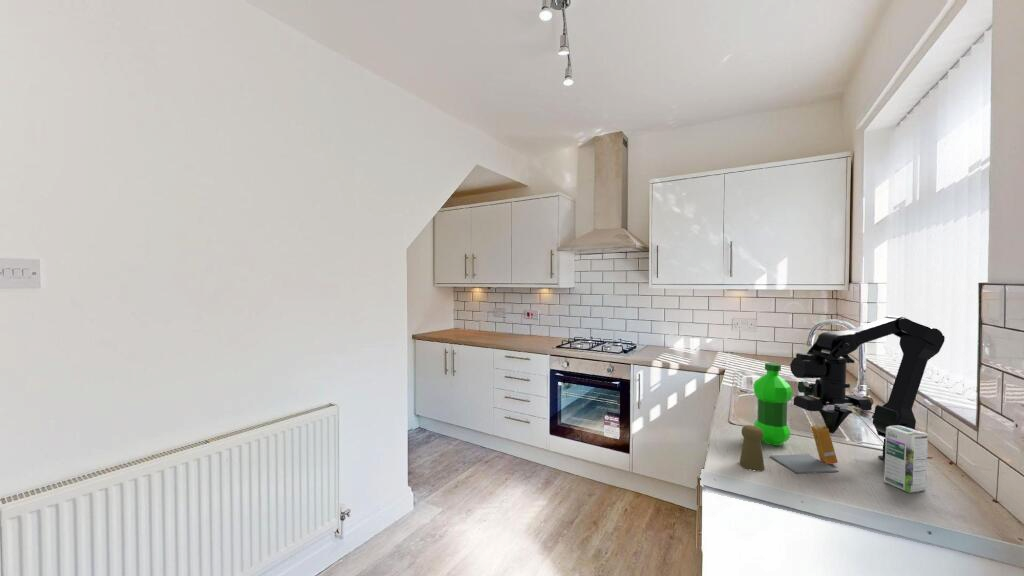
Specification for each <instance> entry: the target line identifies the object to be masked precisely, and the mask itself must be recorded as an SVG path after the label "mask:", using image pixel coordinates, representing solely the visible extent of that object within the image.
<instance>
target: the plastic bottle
mask: <svg viewBox="0 0 1024 576" xmlns="http://www.w3.org/2000/svg"><path fill="white" fill-rule="evenodd" d="M764 370H765V371H766V374H764V375H762V376H760V377H759V378H757V379H756V380H755V381H754V382H753V386H752V387H753V393H754V395H755V397H756V398H757V418H756V420H755V422H754V424H753V426H756V427H759V428H760V429H761V430H762V431H763V438H762V440H761V442H763V441H764V442H766V443H768V444H767V445H770V444H772V445H771V446H780V444H781V445H782V444H783V443H786V442H787V441H788V440H789V439H790V437H791V431H790V428H789V427H788V423H787V422H788V402H790V401H791V400H792V397H793V389H792V387H791V385H790V384H789V383H788V382H787V381H786V380H785V379H783V378H782V377H781V376H780V375H779V374H780V373H779V372H781V370H782V365H781V364H780V363H777V362H775V363H774V362H764ZM764 442H763V443H764ZM766 443H765V444H766Z"/></svg>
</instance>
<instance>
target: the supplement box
mask: <svg viewBox="0 0 1024 576" xmlns="http://www.w3.org/2000/svg"><path fill="white" fill-rule="evenodd" d="M811 431H812V434H813V438H814V439H813V440H814V442H815V446H816V449H817V453H818V457H819V458H818V459H819V460H820V461H822V462H824V463H826V464H827V465H833V464H838V463H839V462H838V459H837V455H836V452H835V447H834V443H833V440H832V436H831V433H829V430H828V428H827V427H826V425H823V424H817V425H812V426H811Z"/></svg>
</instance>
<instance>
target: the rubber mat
mask: <svg viewBox="0 0 1024 576" xmlns="http://www.w3.org/2000/svg"><path fill="white" fill-rule="evenodd" d="M769 457H770V459H773V460H774V461H776V462H777V463H779V464H781V465H783V466H784V467H786V468H787V469H789V470H790V471H792V472H793V473H794V474H814V473H815V474H818V473H839V470H838V469H836V468H834V467H833V466H831V465H830V464H828V465H827V464H826V463H824V462H823V461H821V460H820V459H819V458H817V457H815V456H813V455H811V454H810V453H804V454H803V453H802V454H801V453H799V454H771V455H769Z"/></svg>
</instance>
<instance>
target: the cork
mask: <svg viewBox="0 0 1024 576" xmlns="http://www.w3.org/2000/svg"><path fill="white" fill-rule="evenodd" d="M741 435H742V437H743V438H742V439H743V440H742V445H741V446H742V447H741V453H740V458H739V463H740V464H739V466H741V467H742V468H744V467H745V468H744V469H746V468H747V469H746V470H749V469H751V470H750V471H753V470H755V471H754V472H762V471H764V470H765V463H764V462H765V461H764V456H763V455H764V454H763V449H762V448H763V447H762V438H763V431H762V430H761V429H760V428H759V427H756V426H754V425H751V424H749V425H744V426H742V428H741Z"/></svg>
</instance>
